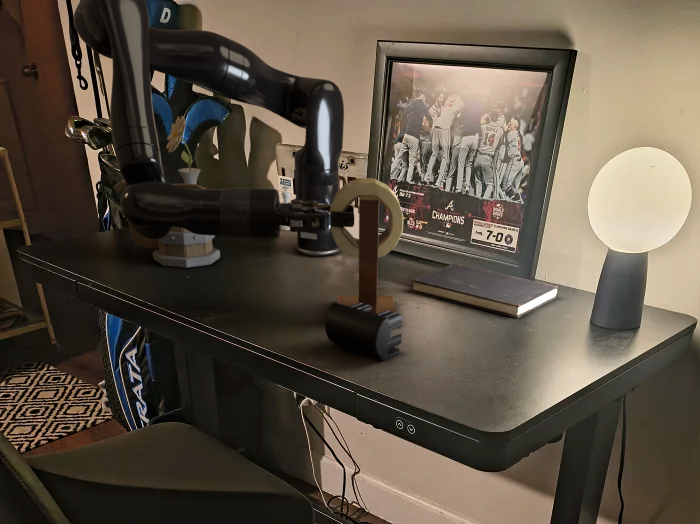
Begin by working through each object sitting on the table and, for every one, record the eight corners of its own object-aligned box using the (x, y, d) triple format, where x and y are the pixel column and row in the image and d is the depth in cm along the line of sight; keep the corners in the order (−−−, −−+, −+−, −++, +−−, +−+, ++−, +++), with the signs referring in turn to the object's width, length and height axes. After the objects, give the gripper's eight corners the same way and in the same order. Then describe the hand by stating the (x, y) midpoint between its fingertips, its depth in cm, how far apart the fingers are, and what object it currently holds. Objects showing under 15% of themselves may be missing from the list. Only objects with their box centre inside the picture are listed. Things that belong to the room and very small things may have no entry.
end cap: (324, 350, 116) (324, 307, 112) (354, 338, 121) (354, 297, 117) (374, 367, 111) (375, 323, 107) (403, 354, 116) (405, 311, 112)
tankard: (226, 253, 161) (220, 179, 153) (204, 269, 151) (196, 190, 143) (139, 247, 164) (128, 173, 156) (112, 262, 153) (99, 183, 145)
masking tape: (330, 252, 128) (329, 177, 122) (399, 253, 129) (402, 179, 123) (330, 259, 125) (329, 182, 118) (401, 260, 125) (405, 184, 119)
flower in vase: (174, 227, 180) (160, 110, 166) (222, 227, 181) (212, 111, 167) (167, 241, 169) (151, 117, 155) (218, 241, 170) (207, 118, 156)
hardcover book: (517, 318, 131) (519, 305, 130) (410, 291, 142) (411, 279, 141) (557, 297, 142) (559, 285, 141) (455, 274, 153) (456, 262, 152)
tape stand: (337, 299, 137) (336, 182, 126) (391, 300, 138) (395, 184, 127) (337, 325, 125) (337, 199, 114) (396, 326, 126) (401, 200, 115)
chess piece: (293, 230, 181) (292, 186, 175) (274, 229, 181) (272, 185, 176) (299, 226, 185) (298, 183, 179) (280, 224, 185) (278, 181, 180)
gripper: (244, 197, 114) (355, 200, 115) (252, 180, 126) (353, 183, 127) (247, 248, 118) (354, 250, 119) (255, 227, 130) (352, 229, 131)
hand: (353, 216), depth 123 cm, fingers closed on masking tape, 4 cm apart
